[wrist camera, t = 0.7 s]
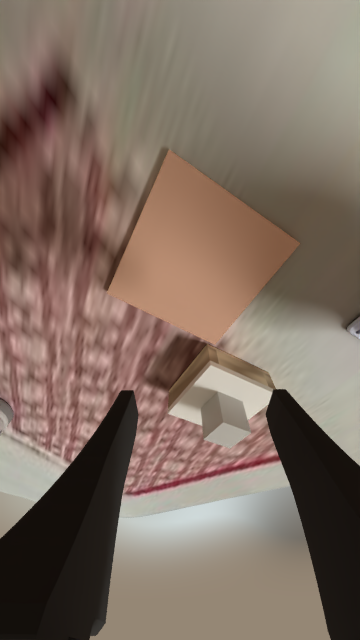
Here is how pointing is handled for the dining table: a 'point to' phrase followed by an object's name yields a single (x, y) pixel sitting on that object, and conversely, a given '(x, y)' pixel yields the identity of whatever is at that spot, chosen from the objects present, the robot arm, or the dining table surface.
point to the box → (222, 359)
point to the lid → (221, 403)
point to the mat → (197, 253)
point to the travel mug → (5, 415)
